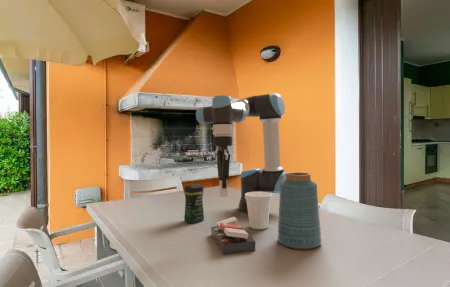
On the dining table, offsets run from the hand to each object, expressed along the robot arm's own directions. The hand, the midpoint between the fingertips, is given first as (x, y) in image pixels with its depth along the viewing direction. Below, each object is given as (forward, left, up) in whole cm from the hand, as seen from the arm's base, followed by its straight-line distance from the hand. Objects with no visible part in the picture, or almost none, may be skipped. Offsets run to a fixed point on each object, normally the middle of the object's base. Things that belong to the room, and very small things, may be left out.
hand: (223, 196), depth 106 cm
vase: (-28, +8, -19) cm, 34 cm away
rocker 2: (-3, 0, -13) cm, 13 cm away
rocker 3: (-3, +6, -13) cm, 14 cm away
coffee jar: (+7, -33, -19) cm, 38 cm away
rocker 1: (-3, -7, -13) cm, 14 cm away
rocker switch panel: (-3, -3, -18) cm, 19 cm away
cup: (-20, -14, -19) cm, 31 cm away
